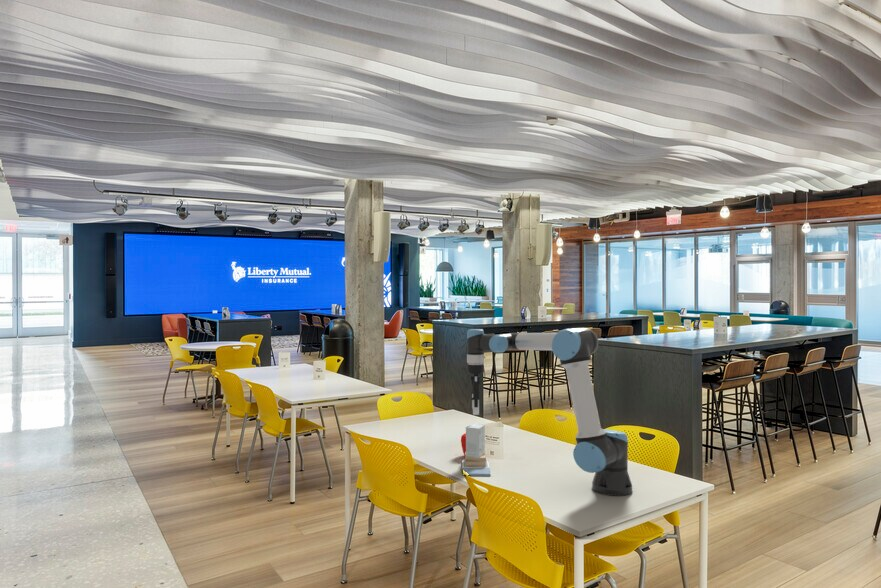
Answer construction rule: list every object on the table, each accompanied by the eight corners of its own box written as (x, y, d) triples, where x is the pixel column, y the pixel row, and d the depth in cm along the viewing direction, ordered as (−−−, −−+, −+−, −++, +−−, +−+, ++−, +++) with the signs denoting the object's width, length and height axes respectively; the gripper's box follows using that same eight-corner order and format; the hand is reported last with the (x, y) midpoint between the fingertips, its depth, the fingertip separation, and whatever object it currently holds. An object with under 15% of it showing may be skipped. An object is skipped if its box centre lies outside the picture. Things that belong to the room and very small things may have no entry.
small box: (471, 452, 265) (471, 423, 265) (485, 453, 263) (485, 424, 263) (465, 456, 258) (465, 427, 258) (479, 458, 256) (479, 428, 256)
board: (490, 476, 246) (490, 473, 246) (462, 475, 247) (462, 473, 247) (488, 462, 266) (488, 459, 266) (461, 462, 267) (461, 459, 267)
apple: (483, 455, 278) (483, 432, 278) (473, 459, 271) (473, 436, 271) (467, 452, 283) (467, 430, 283) (457, 456, 276) (457, 433, 276)
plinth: (485, 467, 256) (485, 457, 256) (465, 466, 256) (465, 457, 256) (485, 461, 265) (485, 452, 265) (465, 460, 265) (465, 452, 265)
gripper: (485, 367, 248) (485, 417, 248) (482, 360, 273) (482, 406, 273) (467, 367, 248) (467, 417, 248) (466, 360, 273) (466, 405, 273)
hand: (475, 411), depth 261 cm, fingers open, 13 cm apart
